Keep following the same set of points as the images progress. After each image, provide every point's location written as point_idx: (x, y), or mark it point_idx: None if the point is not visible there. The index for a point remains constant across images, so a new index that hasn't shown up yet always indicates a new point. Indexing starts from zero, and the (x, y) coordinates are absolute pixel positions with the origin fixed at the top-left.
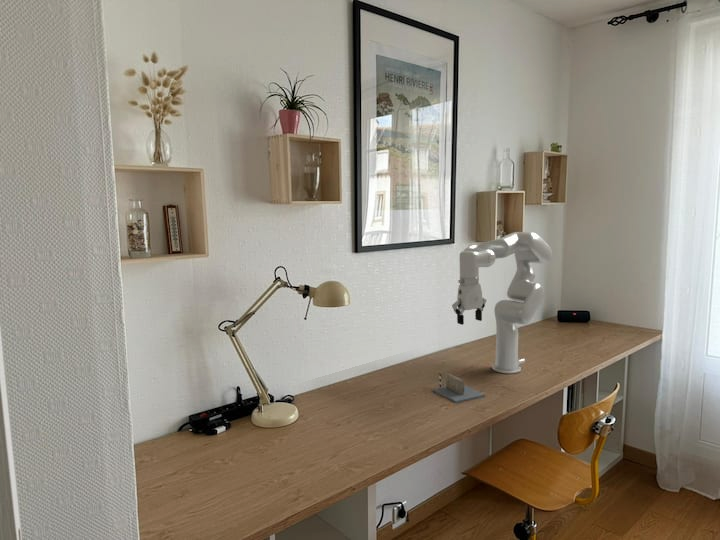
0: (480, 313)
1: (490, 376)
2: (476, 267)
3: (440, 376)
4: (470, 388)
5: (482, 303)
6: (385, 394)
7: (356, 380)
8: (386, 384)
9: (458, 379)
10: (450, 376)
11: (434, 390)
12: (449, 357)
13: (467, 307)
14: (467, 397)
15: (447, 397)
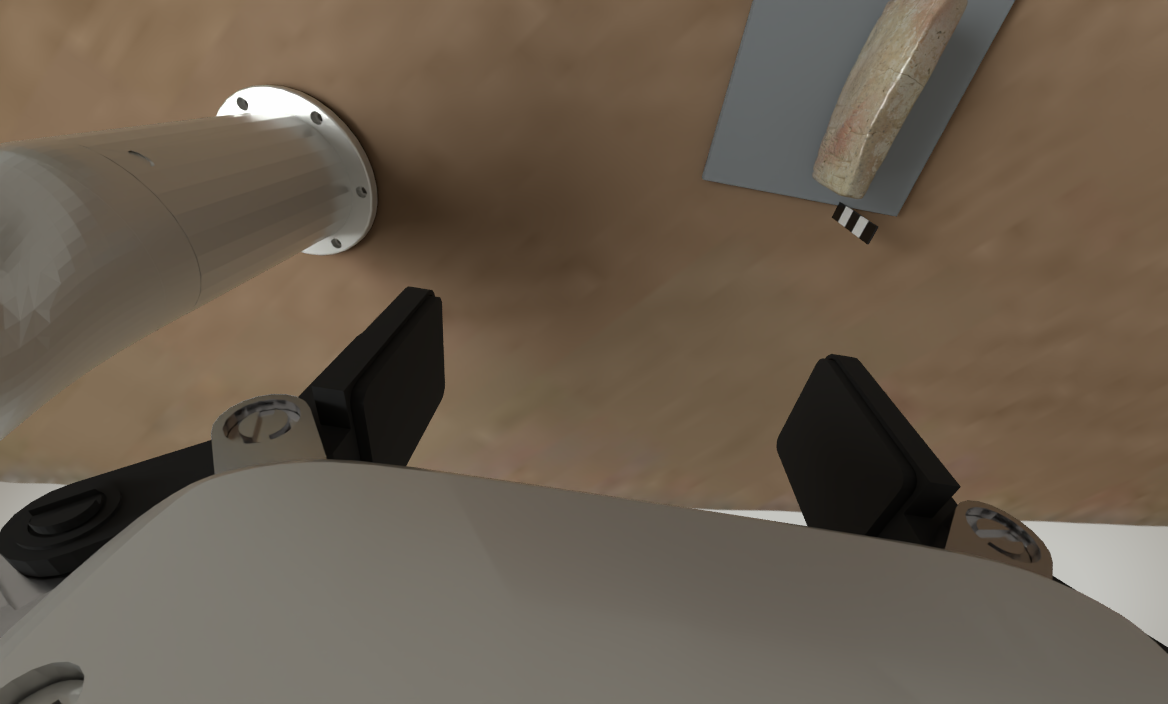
0: (374, 368)
1: (457, 156)
2: None
3: (867, 225)
4: (745, 63)
5: (69, 583)
6: (1081, 329)
7: (955, 497)
8: (933, 405)
9: (937, 45)
10: (890, 146)
11: (905, 196)
12: (439, 442)
13: (1086, 662)
14: None
15: (981, 55)
